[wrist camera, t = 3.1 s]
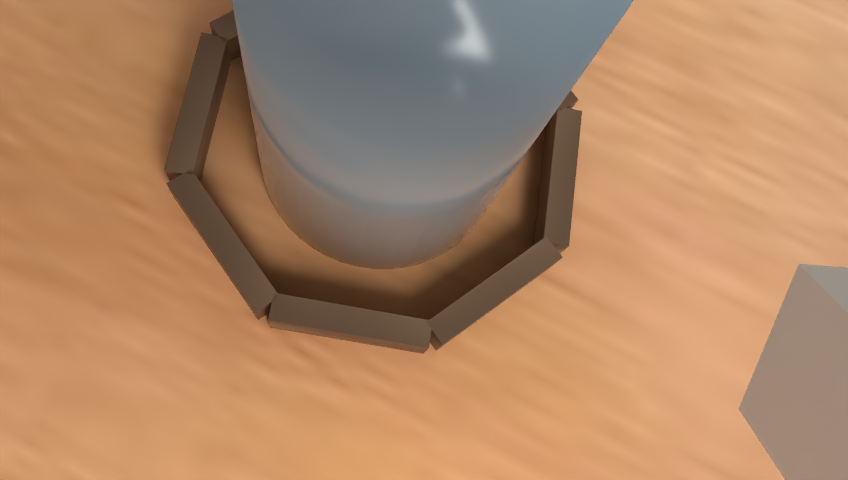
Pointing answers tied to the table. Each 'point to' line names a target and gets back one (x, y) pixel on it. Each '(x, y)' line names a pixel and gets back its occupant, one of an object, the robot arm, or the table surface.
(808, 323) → the robot arm
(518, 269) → the walnut collar
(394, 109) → the grey canister
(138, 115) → the table surface
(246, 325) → the table surface
